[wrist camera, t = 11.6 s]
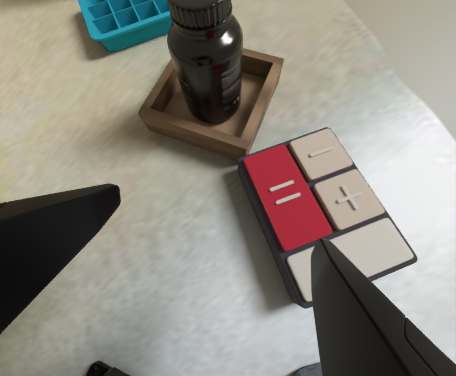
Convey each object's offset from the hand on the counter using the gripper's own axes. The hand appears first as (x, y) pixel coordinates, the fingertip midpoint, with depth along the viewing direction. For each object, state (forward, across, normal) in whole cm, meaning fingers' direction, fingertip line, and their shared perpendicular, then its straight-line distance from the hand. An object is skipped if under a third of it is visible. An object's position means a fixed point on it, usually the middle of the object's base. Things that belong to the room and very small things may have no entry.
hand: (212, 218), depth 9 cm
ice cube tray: (+32, +20, -12) cm, 40 cm away
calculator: (+14, -8, +6) cm, 17 cm away
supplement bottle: (+20, +6, -2) cm, 21 cm away
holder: (+21, +6, -2) cm, 22 cm away
